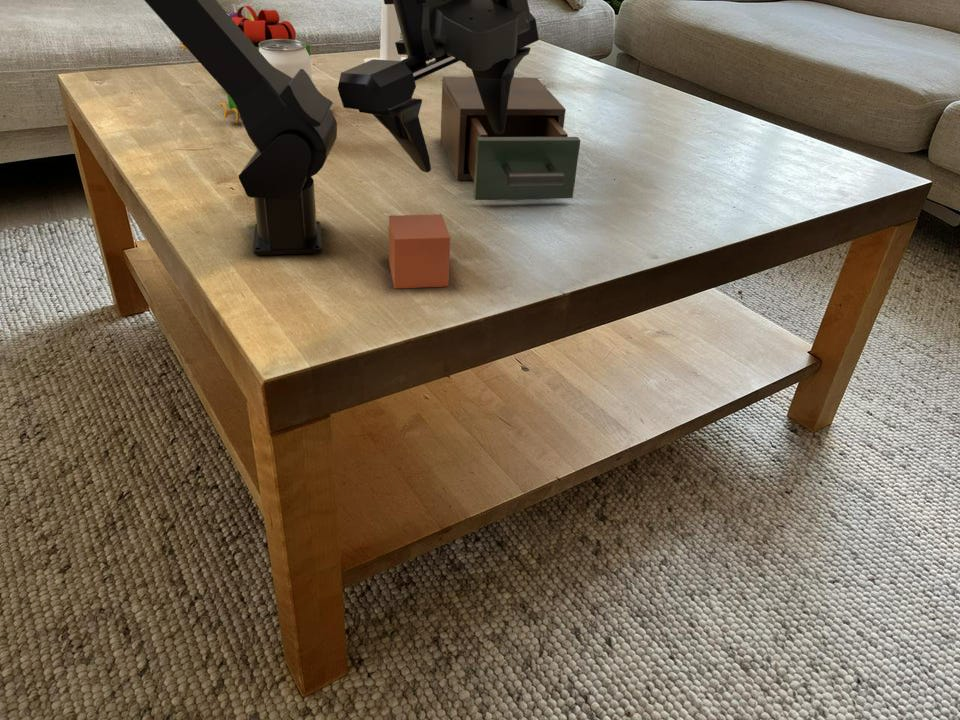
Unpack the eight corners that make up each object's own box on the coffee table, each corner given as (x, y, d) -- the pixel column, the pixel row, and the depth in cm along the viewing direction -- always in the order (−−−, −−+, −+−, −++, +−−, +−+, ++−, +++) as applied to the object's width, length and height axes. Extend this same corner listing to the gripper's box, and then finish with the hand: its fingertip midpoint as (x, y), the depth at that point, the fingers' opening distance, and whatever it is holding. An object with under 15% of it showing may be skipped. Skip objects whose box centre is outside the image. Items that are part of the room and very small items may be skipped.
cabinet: (557, 178, 95) (565, 109, 90) (457, 180, 92) (460, 108, 87) (530, 141, 105) (536, 77, 101) (440, 142, 103) (442, 76, 98)
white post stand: (376, 87, 122) (374, -53, 111) (343, 77, 126) (338, -60, 115) (422, 75, 130) (425, -57, 118) (390, 66, 133) (389, -64, 122)
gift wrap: (280, 103, 119) (271, 1, 112) (355, 121, 107) (349, 8, 101) (156, 118, 106) (137, 4, 99) (225, 140, 94) (209, 13, 88)
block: (448, 286, 71) (450, 237, 68) (394, 288, 70) (394, 239, 67) (440, 261, 75) (441, 214, 72) (389, 263, 74) (388, 215, 71)
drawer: (583, 213, 84) (592, 153, 80) (482, 216, 82) (486, 154, 78) (544, 159, 97) (550, 105, 94) (456, 160, 95) (458, 105, 91)
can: (304, 153, 96) (297, 53, 89) (255, 146, 97) (245, 47, 90) (323, 137, 101) (317, 41, 94) (277, 131, 102) (268, 35, 95)
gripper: (387, 0, 52) (442, 208, 61) (570, -69, 61) (595, 122, 70) (306, 3, 60) (365, 187, 69) (478, -58, 69) (512, 112, 77)
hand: (463, 151), depth 71 cm, fingers open, 9 cm apart
